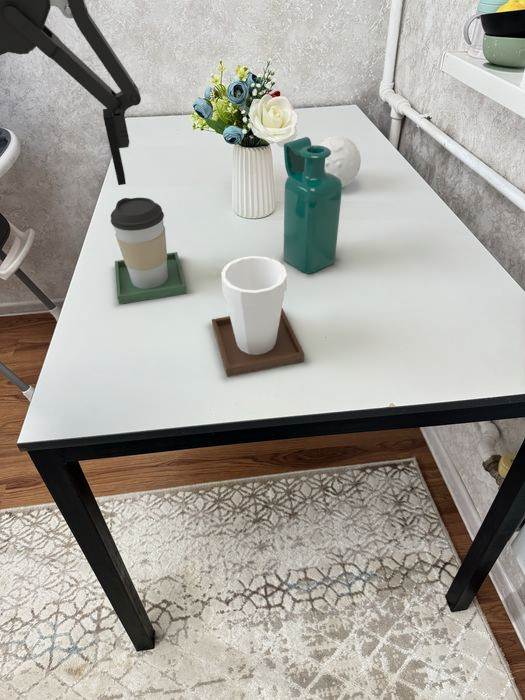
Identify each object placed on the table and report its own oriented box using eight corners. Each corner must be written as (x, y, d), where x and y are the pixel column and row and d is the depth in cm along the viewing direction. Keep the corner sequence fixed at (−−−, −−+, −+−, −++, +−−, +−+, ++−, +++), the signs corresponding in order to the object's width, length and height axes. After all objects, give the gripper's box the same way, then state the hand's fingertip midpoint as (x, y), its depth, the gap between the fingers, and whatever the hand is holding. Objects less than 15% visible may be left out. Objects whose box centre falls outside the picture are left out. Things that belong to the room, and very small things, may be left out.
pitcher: (339, 262, 97) (351, 149, 82) (307, 277, 93) (313, 161, 78) (306, 242, 103) (312, 133, 88) (275, 255, 99) (275, 144, 84)
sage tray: (119, 304, 88) (117, 296, 87) (116, 268, 96) (114, 260, 95) (186, 293, 90) (185, 285, 89) (178, 259, 99) (177, 251, 97)
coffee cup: (183, 273, 94) (172, 199, 84) (151, 297, 88) (135, 221, 78) (148, 260, 97) (133, 188, 87) (115, 282, 92) (95, 208, 82)
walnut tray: (227, 376, 74) (226, 368, 73) (212, 327, 83) (211, 319, 81) (303, 361, 76) (304, 353, 75) (281, 314, 85) (281, 307, 84)
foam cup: (288, 325, 82) (290, 258, 73) (281, 363, 75) (282, 294, 66) (232, 320, 83) (227, 254, 74) (221, 358, 76) (214, 289, 67)
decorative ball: (305, 194, 119) (308, 144, 111) (313, 175, 128) (316, 127, 120) (355, 199, 117) (361, 148, 109) (359, 178, 126) (365, 130, 117)
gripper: (135, -99, 40) (171, 159, 55) (-210, -92, 36) (-72, 187, 50) (142, -99, 35) (180, 187, 49) (-263, -91, 30) (-91, 221, 45)
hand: (53, 187), depth 50 cm, fingers open, 13 cm apart
